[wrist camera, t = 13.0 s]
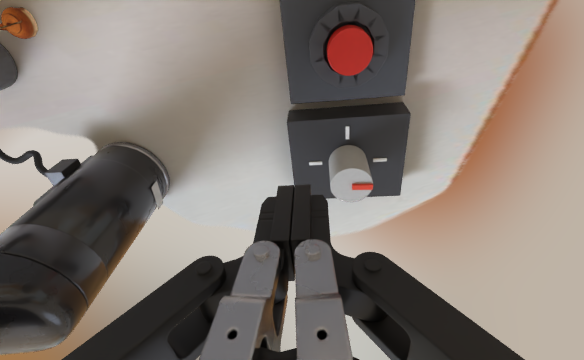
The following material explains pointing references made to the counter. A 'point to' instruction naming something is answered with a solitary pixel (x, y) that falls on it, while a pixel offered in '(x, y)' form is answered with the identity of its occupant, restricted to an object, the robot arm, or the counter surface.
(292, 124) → the panel
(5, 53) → the bottle
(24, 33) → the reddish brown rounded piece
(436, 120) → the counter surface
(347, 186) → the timer knob
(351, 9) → the power block
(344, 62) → the power button
